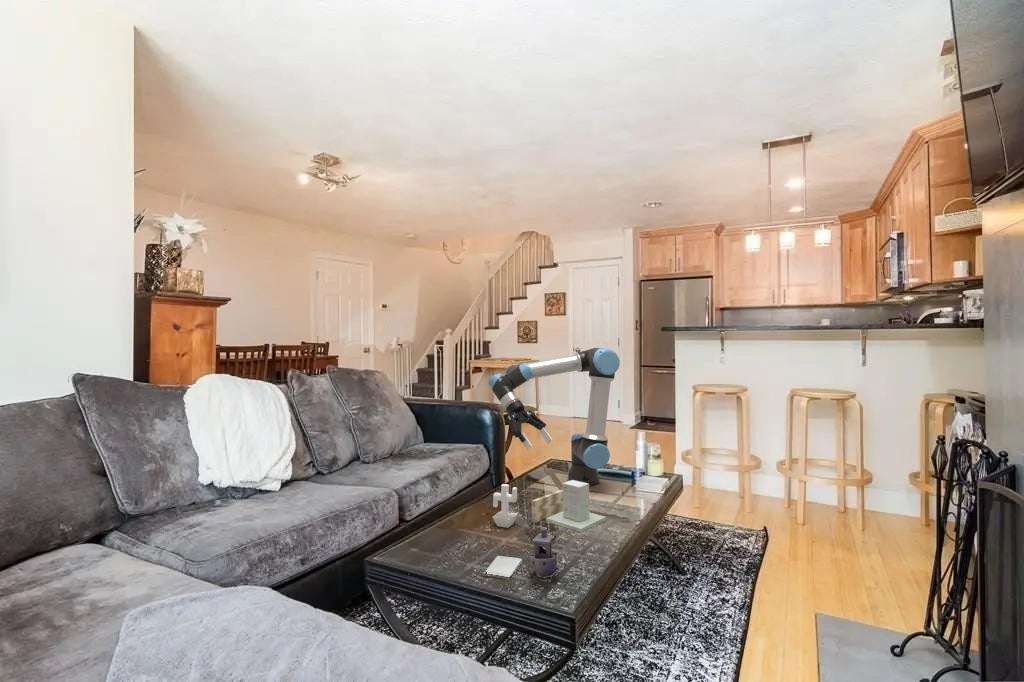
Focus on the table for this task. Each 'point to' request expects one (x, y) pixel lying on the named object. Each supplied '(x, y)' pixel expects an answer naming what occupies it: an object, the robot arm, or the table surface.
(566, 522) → the display plate
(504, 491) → the figurine
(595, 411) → the robot arm
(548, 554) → the toy boat
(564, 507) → the small box
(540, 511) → the wooden screen
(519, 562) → the hard drive
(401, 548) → the table surface
